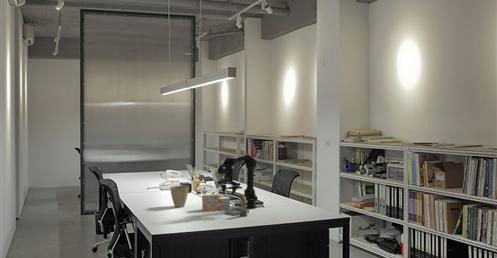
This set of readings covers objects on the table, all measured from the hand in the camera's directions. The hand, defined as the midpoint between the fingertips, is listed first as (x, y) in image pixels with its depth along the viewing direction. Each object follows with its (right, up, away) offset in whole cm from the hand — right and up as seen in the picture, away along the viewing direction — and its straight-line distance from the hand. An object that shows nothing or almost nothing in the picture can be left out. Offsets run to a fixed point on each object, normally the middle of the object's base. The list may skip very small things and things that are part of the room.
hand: (228, 194), depth 367 cm
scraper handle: (+12, -15, -10) cm, 21 cm away
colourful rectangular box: (-10, -14, +15) cm, 23 cm away
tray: (+7, -14, 0) cm, 16 cm away
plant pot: (-41, -14, +28) cm, 52 cm away
